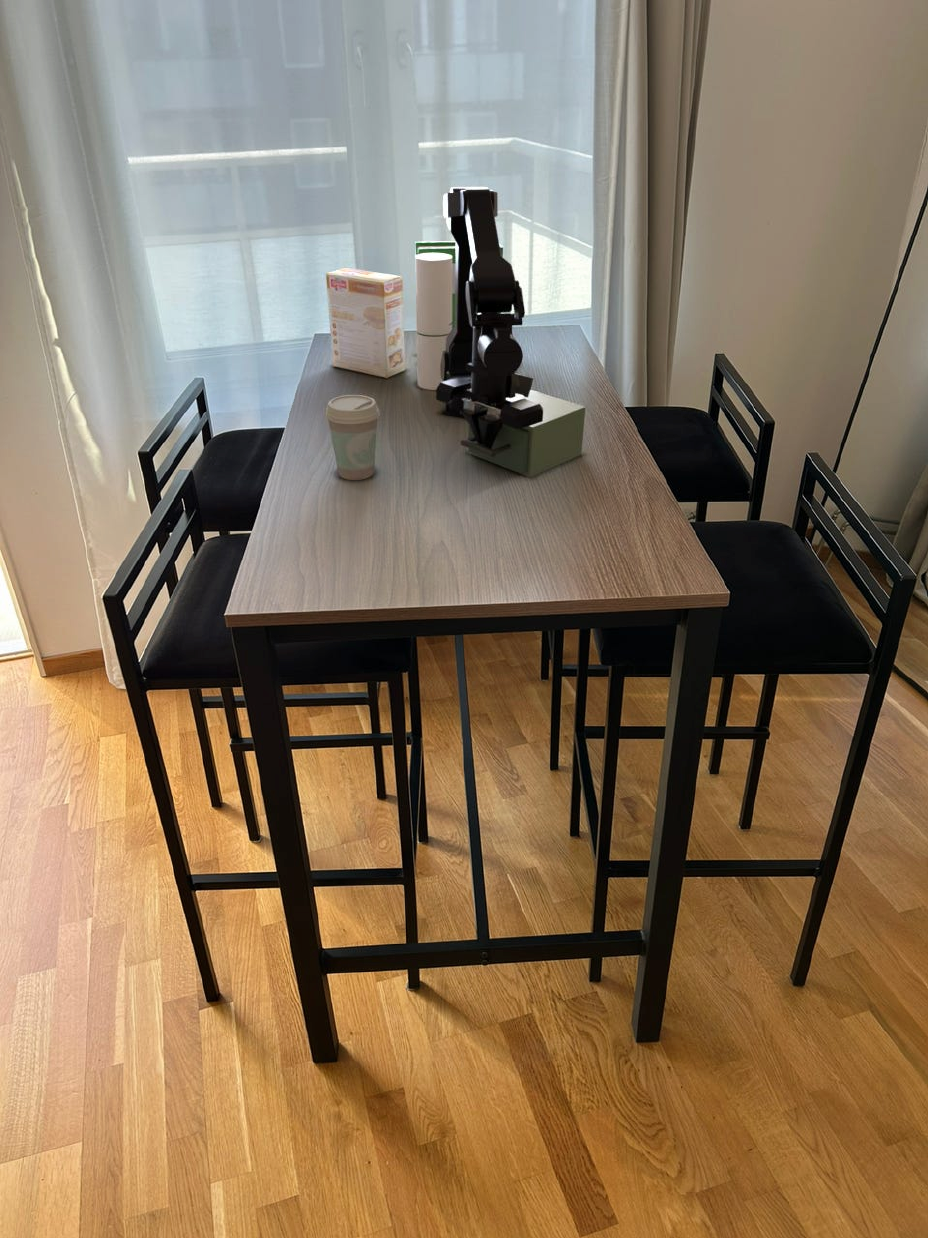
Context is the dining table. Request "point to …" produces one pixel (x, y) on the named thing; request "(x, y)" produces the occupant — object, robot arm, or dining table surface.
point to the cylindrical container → (432, 314)
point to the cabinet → (552, 433)
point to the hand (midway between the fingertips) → (485, 452)
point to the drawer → (503, 448)
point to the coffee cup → (353, 434)
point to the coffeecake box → (366, 321)
